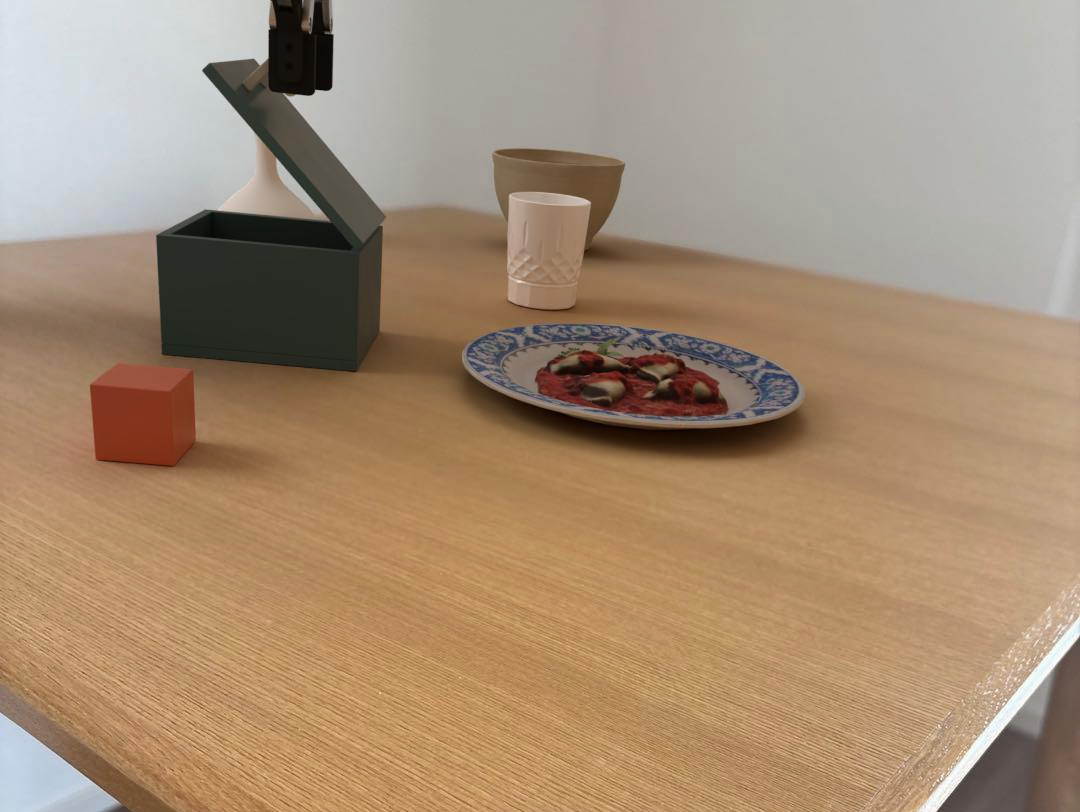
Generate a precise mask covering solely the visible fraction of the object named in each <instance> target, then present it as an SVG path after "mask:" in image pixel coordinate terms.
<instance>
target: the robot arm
mask: <svg viewBox="0 0 1080 812" xmlns="http://www.w3.org/2000/svg"><path fill="white" fill-rule="evenodd" d="M268 11H269V12H268V26H269V29H268V31H267V33H268V35H267V36H268V38H267V39H268V41H267V42H268V43H267V44H268V51H267V52H268V54H267V55H268V57H267V59H268V87H269V89H270V90H271V91H272V92H277V93H283V94H284V93H286V94H295V95H294V96H304V97H305V96H306V97H310V96H313V95H314V94H315V93H316V91H322V92H329V91H331V90H332V89H333V85H334V84H333V83H334V82H333V81H334V45H335V43H334V41H335V40H334V39H335V34H334V33H333V29H334V17H333V15H334V14H333V13H334V12H333V0H269V10H268ZM286 94H285V95H286Z"/></svg>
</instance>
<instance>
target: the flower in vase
mask: <svg viewBox="0 0 1080 812" xmlns="http://www.w3.org/2000/svg"><path fill="white" fill-rule="evenodd" d="M283 94H284V95H285V96H286V97H290V98H291V97H294V96H296V95H295V94H286V93H283ZM253 136H254V140H255V141H254V143H255V155H256V156H255V157H256V158H255V169H254V173H253V175H252V177H251V178H250V179H249V180H248V182H247V183H246V184H244V186H242V187H241V188H239V189H238V190H237V191H236V192H235V193H233V194H232V195H231V196H230V197H229V198H227V199H226V200H225V201H224V202H223V203H222V204H221V205H220V207H218V209H217V211H228V212H239V213H250V214H260V215H271V216H282V217H293V218H303V219H314V220H317V219H316V216H315V214H314V212H313V211H312V210H311V209H310V207H309V206H308V205H307V204H306V203H305V202H304V201H303V200H301V198H299V197H298V196H297V195H296V194H295V193H294V192H293V190H291V189H289V188H288V186H287V185H286V184H285V183H284V182H283V180H281V178H280V175H279V172H278V167H277V158H276V157H275V156H274V155H273V153H272V152H271V151H270V150H269V149H268V148H267V146H266V145H265V144H264V143H263V142H262V141H261V139H260V138H259V137H258V136H257V135H256V134H255V132H254V131H253Z"/></svg>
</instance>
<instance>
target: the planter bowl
mask: <svg viewBox="0 0 1080 812" xmlns="http://www.w3.org/2000/svg"><path fill="white" fill-rule="evenodd" d="M491 153H492V154H491V155H492V163H493V183H494V191H495V194H496V198H497V202H498V205H499V208H500V210H501V212H502V215H503V217H504V219H505V221H506V223H507V224H508V212H509V195H510V194H511V193H516V192H543V193H554V194H563V195H569V196H575V197H579V198H583V199H586V200H588V201H590V202H591V207H590V214H589V221H588V228H587V234H586V241H585V248H584V251H587V250H590V248H591V246H592V241H593V239H594V237H595V236H596V235H597V234H598V232H600V230H601V229H602V228H603V227H604V225H605V224H606V222H607V220H608V219H609V217H610V215H611V214H612V211H613V209H614V207H615V205H616V202H617V199H618V197H619V193H620V189H621V184H622V176H623V175H624V171H625V168H626V161H625V160H624V159H620V158H617V157H613V156H608V155H603V154H596V153H590V152H581V151H574V150H564V149H563V150H562V149H549V148H536V147H535V148H530V147H529V148H528V147H512V148H511V147H510V148H509V147H508V148H500V149H495V150H493V151H492V152H491Z"/></svg>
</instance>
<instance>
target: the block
mask: <svg viewBox="0 0 1080 812" xmlns="http://www.w3.org/2000/svg"><path fill="white" fill-rule="evenodd" d="M194 379H195V378H194V370H193V369H190V368H177V367H170V366H169V367H168V366H157V365H146V364H134V363H124V362H117V363H115V364H114V365H113V366H112V367H111V368H109V369H108V370H107V371H105V372H104V373H103V374H101V375H100V376H99V377H97V378H96V379H94V381H92V382H91V383H90V384H89V394H90V404H91V419H92V429H93V430H92V432H93V445H94V456H95V457H94V458H95V460H98V461H99V460H100V461H110V462H121V463H133V464H144V465H156V466H166V467H167V466H169V467H174V466H175V465H176V464H177V463H178V462H179V461H180V459H181V458H182V457H183V456H184V454H186V452H187V451H188V450H189V449H190V448H191V447H192V446H193V444H194V443H195V442H196V441H197V433H196V409H195V407H196V406H195V405H196V404H195V380H194Z"/></svg>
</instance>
